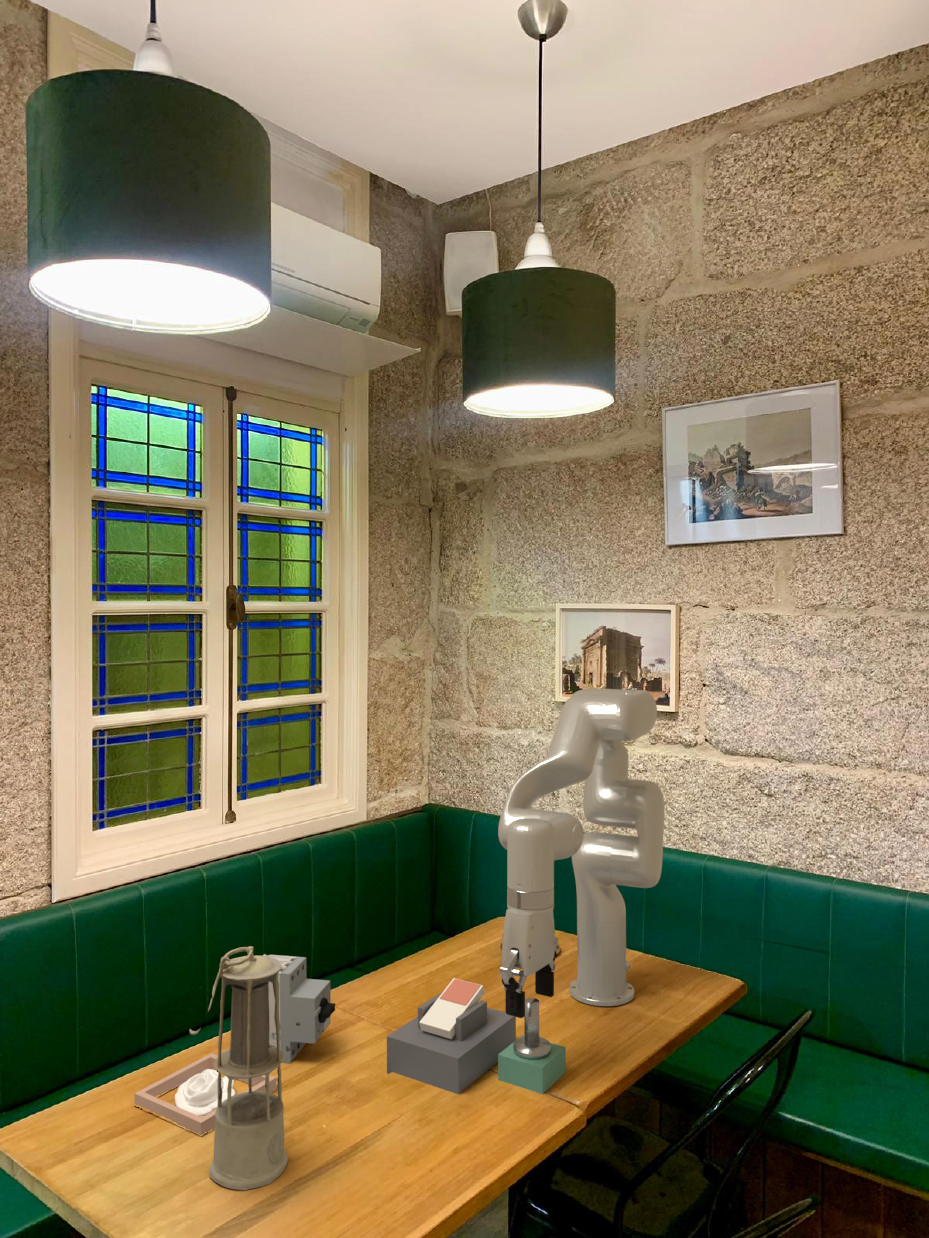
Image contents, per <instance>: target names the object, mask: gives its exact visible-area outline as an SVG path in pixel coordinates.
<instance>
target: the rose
mask: <svg viewBox="0 0 929 1238" xmlns="http://www.w3.org/2000/svg"><path fill="white" fill-rule="evenodd" d="M218 1073H219V1072H217V1071H216V1070H212V1069H206V1070H204V1071H203V1072H202V1073H200V1074H196V1075H194V1076H193V1077H191V1078H190V1079H188V1080H187V1081H186V1082H184V1083H183V1084H181V1085H180V1086H179V1087H177V1091H176V1093H175V1095H174V1105H175V1106H177V1107H179V1108H181V1109H184V1110H186V1111H188V1112H191V1113H193V1114H195V1115H197V1116H205V1115H207V1114H209V1113H210V1112H212V1111H214V1110H215V1109H217V1107H218V1084H217V1079H218ZM221 1079H222V1080H221V1088H222V1102H223V1101H224V1100H226V1099H227V1095H228V1094H227V1088H228V1080H229V1079H228V1078H227V1076H225V1075H224V1076H223V1077H222V1076H221ZM234 1085H235V1079H234V1080H232V1088H231V1096H234V1095H236V1090H235V1089H234Z"/></svg>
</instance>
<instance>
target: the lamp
mask: <svg viewBox="0 0 929 1238" xmlns="http://www.w3.org/2000/svg"><path fill="white" fill-rule="evenodd" d="M242 952H246V954H247V955H244V956H239V957H235V958H231V959H230V957H231V956H232V955H234V954H237V953H242ZM268 956H269V955H268ZM268 956H263V955H254V946H251V945H250V946H243V947H242V946H241V947H238V948H235V949H232V950H229V951H228V952H226V953H225V954H224V956H222V957H221V958H220V963H219V969H218V972H217V975H216V978H215V981H214V984H213V986H212V992H211V995H212V997H211V998H210V1003H209V1006H208V1008H207V1013H209V1012H210V1009H211V1008H212V1003H213V999H214V997H215V995H216V990H217V987H218V984H219V981H220V978H221V994H220V1005H219V1006H220V1010H219V1011H220V1014H219V1029H218V1031H219V1032H218V1040H217V1049H218V1050H217V1055H218V1056H217V1058H216V1060H215V1063H214V1065H215V1068H216V1070H217V1071H218V1079H217V1084H218V1107H217V1109H216V1112H215V1129H214V1135H213V1136H214V1138H213V1140H214V1141H213V1159H212V1161H211V1163H210V1166H209V1169H210V1177H212V1179H211V1181H213V1180H215V1181H214V1183H216V1184H218V1185H219V1186H222V1187H224V1188H227V1189H231V1190H239V1191H247V1190H251V1189H257V1188H261V1187H264V1186H266V1185H269V1184H271V1183H273V1182H274V1181H275V1180H277V1178H279V1177H280V1176H281V1175H282V1174H283V1173H284V1171H285V1169H286V1168H287V1164H288V1154H287V1152H286V1150H285V1123H284V1122H285V1121H284V1117H285V1116H284V1113H285V1111H284V1110H285V1109H284V1103H283V1098H282V1097H283V1095H282V1089H283V1086H282V1069H281V1065H282V1064H283V1063H282V1062H283V1059H284V1054H283V1052H282V1051H281V1050H280V1028H281V1027H280V1022H279V982H278V975H279V971H280V970H281V968H282V965H281V962H280V961H279V960H277V959H275V958H272V957H268ZM269 981H270V982H272V983H273V990H274V997H275V1015H274V1019H275V1026H276V1033H277V1047H275V1046H272V1045H270V1043H269V1032H270V1025H269V986H268V984H269ZM229 985H231V990H232V991H231V1010H230V1011H231V1014H230V1047H229V1048H227V1049H225V1050H223V1051H222V1044H223V1031H224V1030H223V1029H224V1028H223V1027H224V1012H225V998H226V988H227V986H229ZM201 987H202V986H201ZM201 987H199V988H200V989H201ZM200 1031H201V1028H199V1029H197V1030H196V1031H195V1030H192V1029H191V1028H190V1029H189V1034H190V1035H194V1036H195V1035H197V1034H199V1032H200ZM272 1047H274V1048H272ZM274 1070H276V1071H277V1072H276V1073H277V1077H276V1082H277V1084H276V1089H277V1095H276V1094H273V1093H269V1075H271V1073H272V1072H273V1071H274ZM222 1075H223V1076H224V1077H225V1076H227V1078H228V1079H229V1080H228V1088H227V1094H228V1095H227V1099H226V1100H224V1101H223V1102H222V1088H221V1080H222V1079H221V1077H222ZM263 1075H265V1076H266V1077H265V1088H266V1092H261V1091H252V1087H253V1085H252V1078H255V1077H259V1076H263ZM237 1079H248V1084H247V1085H248V1090H249V1092H246V1091H244V1092H240V1093H238V1094H236V1093H235V1095H234V1096H231V1088H232V1080H234V1081H235V1080H237ZM210 1177H209V1178H210Z"/></svg>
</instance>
